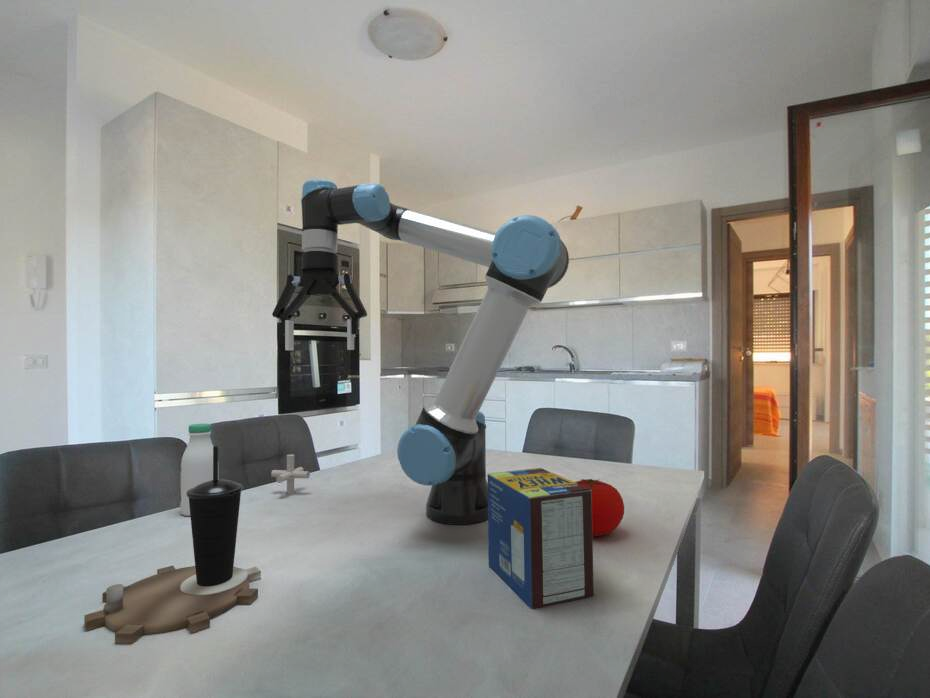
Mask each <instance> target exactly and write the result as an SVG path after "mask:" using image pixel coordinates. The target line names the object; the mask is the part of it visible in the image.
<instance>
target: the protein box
mask: <svg viewBox="0 0 930 698" xmlns="http://www.w3.org/2000/svg"><path fill="white" fill-rule="evenodd" d="M575 482H576V481H573V480H570V479H567V478H566V477H563V476H561V475H558V474H556V473H554V472H551V471H549V470H547V469H544V468H542V467H538V468H536V467H535V468H529V469H518V470H507V471H499V472H496V471H495V472H488V473H487V484H488V520H487V527H488V528H487V529H488V530H487V536H488V537H487V539H488V540H487V541H488V543H487V544H488V545H487V547H488V549H487V551H488V552H487V553H488V567H489V568H491V570H492V571H494V573H495V574H496V575H497V576H498V577H500V578H501V580H502V581H503V582H504V583H505V584H506V585H507V586H508V587H509V588H510V589H511V590H512V591H513V592H514V593H515V595H517V596H518V597H519V598H520V599H521V600H522V602H523V603H524V604H526V606H527V607H529V609H536V608H542V607H546V606H547V607H548V606H552V605H555V604H560V603H565V602H570V601H574V600H579V599H584V598H589V597H593V596H594V593H595V592H594V591H595V590H594V589H595V588H594V554H593V553H594V551H593V549H594V547H593V546H594V545H593V544H594V543H593V536H592V490H591V489H590V488H588V487H585V486H583V485H580V484H578V483H575Z"/></svg>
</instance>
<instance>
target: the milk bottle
mask: <svg viewBox="0 0 930 698" xmlns="http://www.w3.org/2000/svg"><path fill="white" fill-rule="evenodd" d="M211 434H212V424H211V423H195V424H189V425H188V435H189V438H188V439H189V440H188V443H187V446H186V448H185V450H184V452H183V454H182V457H181V462H180V481H179V482H180V484H179V487H180V488H179V490H180V491H179V494H180V496H179V497H180V498H179V508H180V514H181V515H182V516H186V517H190V506H189V497H187V495H186V493H187V491H188V490H189V489H191V488H194V487H196V486H197V485H199V484H201V483H204V482H207V481H211V480H213V447H214V445H213V442H212V439H211ZM219 471H220V470H219V466H218V479H220V478H219Z"/></svg>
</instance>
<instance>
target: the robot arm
mask: <svg viewBox="0 0 930 698" xmlns="http://www.w3.org/2000/svg"><path fill="white" fill-rule="evenodd" d="M300 203H301V222H302V225H301V226H302V228H301V250H302V252H303V253H302V254H301V275H300V276H298V275H297V276H296V275H293V274H287V277H286V284H285V286H284V288H283V291H282V292H281V295H280V297H279V299H278V301H277V303H276V305H275V307H274V309H273V311H272V314H271V315H272V316H273V318H276V319H279V320H280V321H281V322H280V323H281V325H280V327H281V328H280V329H281V331H280V333H281V336H284V337H285V338H284V344H285V346H284V348H285V349H284V350H285V351H295V348H294V343H295V340H294V338H295V335H294V334H295V332H294V331H295V330H294V329H295V325H294V324H295V321H294V320H291V319H292V317H293V316H295V314H296V313H297V312H298V310H299V309H300V308H301V307H302V305H303V304H304V303H305V302H306V301H307V300H308V299H309V298H310V297H311V296H313V297H320V296H324V297H329V296H330V295H331V296H332V297H333V298H334V299H335V301H336V302H337V304H338V305H340V306H341V309H343V310H344V312H346V314H347V315H348V316H349V317H350V318H349V319H346V323H347V324H346V325H347V327H346V328H347V331H346V337H347V338H346V341H347V343H346V346H347V348H346V349H347V350H348V351H354V350H355V335H358V334H359V332H360V331H359V330H360V329H359V327H360V325H359V322H360V319H362V318H366V317H367V316H368V313H367V311H366V308H365V306H364V303H363V302H362V300H361V299H360V296H359V295H358V293H357V290H356V288H355V286H354V281H353V276H352V275H350V273H349V274H348V273H344V274H343V275H339V273H338V272H339V271H338V268H339V264H338V263H339V261H338V255H337V254H336V253H338V245H339V244H338V237H339V236H338V235H339V234H338V231H339V229H338V226H341V225H342V226H343V225H351V224H359V225H360V226H361V225H362V226H363V227H365V228H367V229H370V230H371V231H374V232H375V233H377V234H379V235H381V236H383V237H385V238H387V239H389V240H393V241H402V242H405V243H408V244H411V245H414V246H418V247H420V248H425V249H427V250H431V251H434V252H436V253H437V252H438V253H441V254H444V255H447V256H450V257H454V258H457V259H459V260H460V259H461V260H463V261H467V262H470V263H473V264H476V265H480V266H484V267H486V268H488V269H487V270H486V273H485V275H484V279H485V281H486V285H487V291H486V292H485V295H484V297H483V298H482V300H481V302H480V304H479V307H478V309H477V312H476V313H475V315H474V318H473V319H472V321H471V324H470V326H469V328H468V330H467V333H466V334H465V337H464V339H463V340H462V343H461V345H460V348H459V350H458V351H457V353H456V356H455V358H454V360H453V362H452V365H451V366H450V368H449V371H448V373H447V375H446V376H445V379H444V381H443V383H442V385H441V388H440V389H439V392H438V393H437V396H436V398H435V399H433V400H430V401H429V402H426V403H425V404H424V405H423V408H422V409H421V411H420V414H419V415H418V417H417V418H418V419H417V420H416V422H415V424H414V425H412V426H410V427H409V428H407V430H405V431H404V432H403V434H402V435H401V436H400V438H399V441H398V443H397V459H398V461H399V464H400V468H401V469H402V471H403V473H404V474H405V475H406V476H407V477H408V478H409V479H410V480H411V481H413V482H414V483H416V484H418V485H421V486H428V487H429V486H430V491H429V493H428V494H429V495H428V498H427V500H426V506H425V508H426V509H425V510H426V512H425V515H426V517H427V518H428V519H429V520H431V521H433V522H437V523H441V524H449V525H470V524H477V523H482V522H484V521H488V480H487V474H486V473H487V471H486V469H487V465H486V461H487V460H486V459H487V458H486V453H487V451H486V448H487V447H486V438H487V437H486V429H487V424H486V417H485V415H484V413H483V412H482V411H480V410H481V408H482V406H483V403H484V402H485V400H486V397H487V395H488V394H489V391H490V389H491V387H492V385H493V383H494V381H495V380H496V379H495V378H496V377H497V374H498V373H499V371H500V368H501V367H502V365H503V363H504V361H505V358H506V356H507V355H508V352H509V351H510V348H511V346H512V345H513V342H514V340H515V338H516V336H517V334H518V332H519V329H520V328H521V325H522V324H523V321H524V319H525V318H526V316H527V314H528V311H529V310H530V308H532V307H534V306H536V305H540V304H541V303H542V302H543V299H544V298H545V295H546V293H547V291H548V289H550V288H553V287H554V286H556V285H557V284H558V283H559V282H561V281H562V279H563V278H564V277H565V275H566V273H567V271H568V268H569V264H570V258H569V257H570V256H569V251H568V248H567V246H566V244H565V243H564V242H563V240H562V239H561V236H560V234H559V232H558V230H557V229H556V227H554V226H553V225H552V224H551V223H549V221H546V220H545V219H543V218H542V217H539V216H536V215H530V214H524V215H519V216H516V217H514V218H511V219H509V220H507V221H505V223H504V224H503V225H501V226H500V227H499V228H498V230H497V231H496V232H495V231H491V230H487V229H483V228H479V227H475V226H472V225H469V224H465V223H461V222H458V221H454V220H450V219H446V218H443V217H439V216H435V215H432V214H429V213H425V212H422V211H417V210H414V209H409V208H406V207H403V206H400V205H396V204H394V203H392V202H391V201H390V197H389V193H388V192H387V191H386V189H385V186H383V185H381V183H360V184H359V185H358V184H357V185H352V186H346V187H340V188H338V186H337V184H336V183H335V182H334V181H332V180H328V179H323V178H320V179H317V178H311V179H308V180H305V182H304V183H303V184H302V190H301V199H300ZM339 283H341V284H342V285H343V286H345V289H346V291H347V293H348V295H349V296H350V300H351V301H352V303H353V305H354V307H355V309H356V311H357V312H356V311H355V309H354V308H353V307H352V306H351V305H350V303H348V301H347V300H346V299H345V297H343V295H342V294H341V292H340V291H339V290H338V289H337V286H338V285H339ZM299 284H302V287H301V289H300V290H299V292H298V294H297V295H296V296H295V297H294V299H293V300H292V302H290V301H291V299H292V297H293V295H294V293H295V291H296V289H297V286H299Z"/></svg>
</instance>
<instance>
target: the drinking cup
mask: <svg viewBox="0 0 930 698" xmlns="http://www.w3.org/2000/svg"><path fill="white" fill-rule="evenodd" d="M213 446H214V445H213ZM218 467H219V445H218V446H217V445H216V446H214V447H213V480H211V481H207V482H204V483H201V484H199V485H197V486H196V487H194V488H191V489H189V490H188V491H187V493H186V495H187V497H189V506H190V516H189V517H190V525H191V526H190V527H191V533H192V534H191V535H192V546H193V557H194V566H195V569H196V580H197V584H198V585H200V586H215V585H219V584H222V583H225V582H227V581H229V580H230V579H231V578H232V576H233V567H235V566H234V564H235V555H236V543H237V533H238V527H239V526H238V525H239V516H240V515H239V514H240V507H241V506H240V505H241V495H242V492H243V490H244V485H243V484H242V483H239V482H236V481H233V480H229V479H220V478H219V479H218Z"/></svg>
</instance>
